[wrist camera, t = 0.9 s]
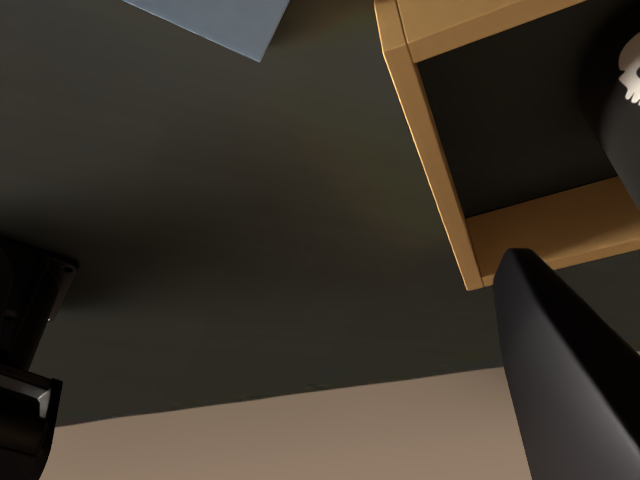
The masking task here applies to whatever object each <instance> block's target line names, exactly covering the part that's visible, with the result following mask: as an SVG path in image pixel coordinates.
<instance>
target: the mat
mask: <svg viewBox="0 0 640 480" xmlns="http://www.w3.org/2000/svg"><path fill="white" fill-rule="evenodd" d="M123 1H125V2H127V3H129V4H132V5H134V6H136V7H138V8H140V9H143V10H145V11H147V12H149V13H152V14H154V15H156V16H158V17H160V18H163V19H165V20H167V21H169V22H172V23H174V24H176V25H178V26H180V27H183V28H185V29H187V30H189V31H191V32H194V33H196V34H198V35H200V36H203V37H205V38H207V39H209V40H211V41H214V42H216V43H218V44H220V45H222V46H225V47H227V48H229V49H231V50H234V51H236V52H238V53H240V54H242V55H245V56H247V57H249V58H251V59H253V60H256V61H258V62H261V60H262V58H263V56H264V54H265V52H266V50H267V47H268V45H269V43H270V41H271V39H272V37H273V35H274V33H275V31H276V29H277V27H278V24H279V22H280V20H281V18H282V16H283V14H284V12H285V10H286V8H287V6H288V4H289V1H290V0H123Z"/></svg>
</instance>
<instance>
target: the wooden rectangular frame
mask: <svg viewBox="0 0 640 480" xmlns="http://www.w3.org/2000/svg"><path fill="white" fill-rule="evenodd" d="M373 1H374V7H375V12H376V18H377V24H378V29H379V35H380V41H381V46H382V52H383V55H384V58H385V61H386V64H387V67H388V69H389V72H390V75H391V78H392V81H393V83H394V86H395V89H396V92H397V95H398V97H399V100H400V103H401V106H402V109H403V111H404V114H405V117H406V120H407V123H408V126H409V128H410V131H411V134H412V137H413V140H414V142H415V145H416V148H417V151H418V154H419V156H420V159H421V162H422V165H423V168H424V170H425V173H426V176H427V179H428V182H429V185H430V187H431V190H432V193H433V196H434V199H435V201H436V204H437V207H438V210H439V213H440V215H441V218H442V221H443V224H444V227H445V229H446V232H447V235H448V238H449V241H450V244H451V246H452V249H453V252H454V255H455V258H456V260H457V263H458V266H459V269H460V272H461V274H462V277H463V280H464V283H465V286H466V288H467V290H468V291H470V290H474V289H478V288H482V287H483V285H484V286H489V285H493V279H494V275H495V273H496V271H497V268H498V266H499V264H500V262H501V259H502V257H503V255H504V253H505V251H506V250H507V249H508V248H529V249H531V250H533V251H534V252H535V253H536V254H537V255H538V256H539V257H541V258H542V259H543V260H544V261H545V262H546V263H547V264H548V265H549V266H550V267H551V268H552V269H553V270H555V269H559V268H564V267H568V266H572V265H576V264H580V263H584V262H588V261H592V260H596V259H601V258H605V257H609V256H613V255H617V254H621V253H625V252H629V251H634V250H638V249H640V211H639V210H638V208H637V206H636V205H635V203H634V201H633V199H632V198H631V196H630V194H629V193H628V191H627V189H626V187H625V186H624V184H623V182H622V181H621V179H620V177H619V176H617V177H613V178H610V179H606V180H602V181H599V182H595V183H592V184H588V185H584V186H581V187H577V188H574V189H570V190H566V191H563V192H559V193H556V194H552V195H549V196H545V197H541V198H538V199H534V200H531V201H527V202H523V203H520V204H516V205H513V206H509V207H506V208H502V209H498V210H495V211H491V212H488V213H484V214H480V215H477V216H473V217H470V218H466V220H465V217H464V214H463V211H462V208H461V204H460V201H459V198H458V195H457V192H456V188H455V185H454V182H453V179H452V175H451V172H450V169H449V166H448V163H447V159H446V156H445V153H444V150H443V147H442V143H441V140H440V137H439V134H438V130H437V127H436V124H435V121H434V118H433V114H432V111H431V108H430V105H429V101H428V98H427V95H426V92H425V89H424V85H423V82H422V79H421V76H420V73H419V69H418V66H417V62H420V61H422V60H425V59H428V58H431V57H433V56H436V55H439V54H442V53H444V52H447V51H450V50H452V49H455V48H458V47H461V46H463V45H466V44H469V43H472V42H474V41H477V40H480V39H482V38H485V37H488V36H491V35H493V34H496V33H499V32H502V31H504V30H507V29H510V28H512V27H515V26H518V25H521V24H523V23H526V22H529V21H532V20H534V19H537V18H540V17H542V16H545V15H548V14H551V13H553V12H556V11H559V10H562V9H564V8H567V7H570V6H572V5H575V4H578V3H581V2H583V1H586V0H373Z"/></svg>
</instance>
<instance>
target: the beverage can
mask: <svg viewBox="0 0 640 480" xmlns="http://www.w3.org/2000/svg"><path fill="white" fill-rule="evenodd" d="M578 93H579V104H580V108H581V111H582V114H583V116H584V117H585V119H586V121H587V122H588V124H589V126H590V128H591V129H592V131H593V133H594V134H595V136H596V138H597V140H598V141H599V143H600V145H601V146H602V148H603V150H604V152H605V153H606V155H607V157H608V158H609V160H610V162H611V164H612V165H613V167H614V169H615V170H616V172H617V174H618V175H619V177H620V179H621V181H622V182H623V184H624V186H625V187H626V189H627V191H628V193H629V194H630V196H631V198H632V199H633V201H634V203H635V205H636V206H637V208H638V210H639V211H640V7H639V8H637V9H635V10H634V11H632V12H631V13H629V14H628V15H626V16H625V17H624V18H623V19H621V20H620V21H619V22H618V23H617V24H616V25H615V26H614V27H613V28H612V29H611V30H610V31H609V32H608V33H607V34H606V35H605V36H604V38H603V39H602V40H601V41H600V42H599V44H598V45H597V46H596V48H595V49H594V51H593V52H592V54H591V55H590V57H589V59H588V61H587V63H586V65H585V67H584V70H583V72H582V75H581V79H580V83H579V92H578Z"/></svg>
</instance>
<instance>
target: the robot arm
mask: <svg viewBox="0 0 640 480" xmlns="http://www.w3.org/2000/svg"><path fill="white" fill-rule="evenodd" d="M78 268H79V264H78V262H76V261H75V260H73V259H70V258H67V257H64V256H61V255H58V254H55V253H52V252H49V251H46V250H43V249H40V248H37V247H34V246H31V245H28V244H25V243H22V242H19V241H16V240H13V239H10V238H7V237H4V236H1V235H0V480H39V478H40V476H41V474H42V472H43V470H44V467H45V465H46V462H47V459H48V456H49V453H50V450H51V445H52V440H53V435H54V429H55V423H56V418H57V412H58V406H59V401H60V395H61V390H62V384H63V382H62V381H60V380H57V379H54V378H52V379H49V378H46V377H43V376H40V375H37V374H34V373H32V372H29V371H28V370H29V368H30V365H31V362H32V360H33V357H34V355H35V352H36V350H37V347H38V345H39V342H40V339H41V337H42V334H43V332H44V329H45V327H46V324H47V322H52V321H53V320H54V319H55V316H56V314H57V312H58V310H59V308H60V306H61V304H62V302H63V300H64V298H65V296H66V294H67V292H68V290H69V288H70V286H71V284H72V282H73V280H74V277H75V275H76V273H77V271H78ZM493 292H494V300H495V308H496V315H497V323H498V331H499V339H500V346H501V353H502V360H503V365H504V369H505V374H506V378H507V381H508V386H509V390H510V394H511V398H512V401H513V406H514V409H515V413H516V417H517V421H518V425H519V429H520V433H521V437H522V441H523V445H524V449H525V453H526V457H527V461H528V465H529V469H530V473H531V476H532V480H640V355H639V354H638V353H637V352H636V351H635V350H634V349H633V348H632V347H631V346H630V345H629V344H628V343H627V342H626V341H625V340H624V339H623V338H622V337H621V336H620V335H619V334H617V333H616V332H615V331H614V330H613V329H612V328H611V327H610V326H609V325H608V324H607V323H606V322H605V321H604V320H603V319H602V318H601V317H600V316H599V315H598V314H597V313H596V312H595V311H594V310H593V309H592V308H591V307H590V306H589V305H588V304H587V303H586V302H585V301H584V300H583V299H582V298H581V297H580V296H579V295H578V294H577V293H576V292H575V291H574V290H573V289H572V288H571V287H570V286H569V285H568V284H567V283H566V282H565V281H564V280H563V279H562V278H561V277H560V276H559V275H558V274H557V273H556V272H555V271H554V270H553V269H552V268H551V267H550V266H549V265H548V264H547V263H546V262H545V261H544V260H543V259H542V258H541V257H539V256H538V255H537V254H536V253H535V252H534V251H533V250H531V249H529V248H508V249H507V250H506V251H505V253H504V255H503V257H502V259H501V262H500V264H499V266H498V268H497V271H496V273H495V275H494V279H493Z"/></svg>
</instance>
